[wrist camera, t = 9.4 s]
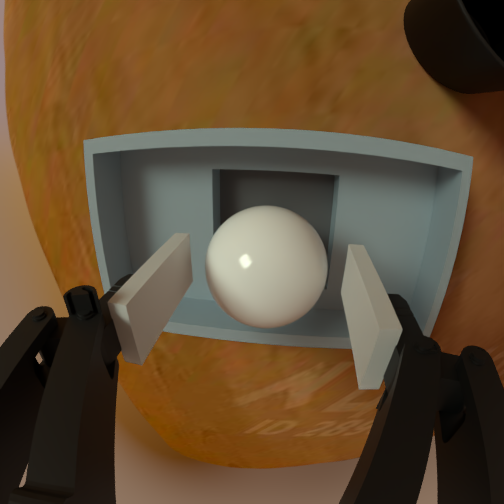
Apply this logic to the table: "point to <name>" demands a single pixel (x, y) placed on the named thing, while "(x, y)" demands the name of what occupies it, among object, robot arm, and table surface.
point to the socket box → (287, 196)
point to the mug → (459, 42)
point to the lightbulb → (266, 266)
